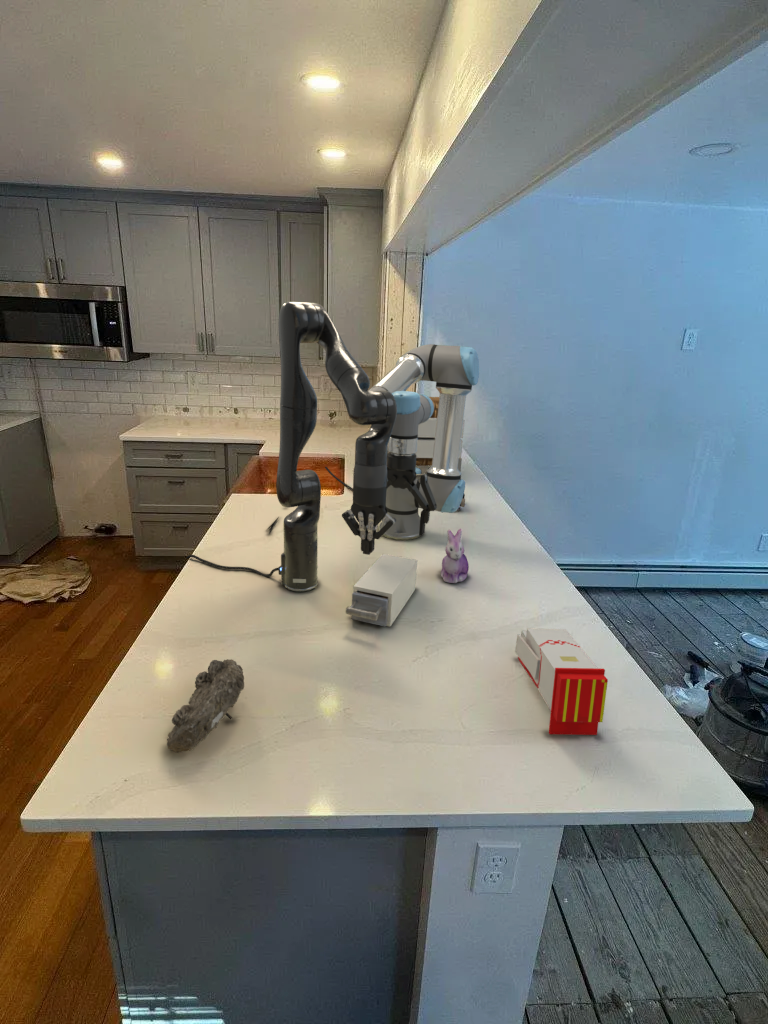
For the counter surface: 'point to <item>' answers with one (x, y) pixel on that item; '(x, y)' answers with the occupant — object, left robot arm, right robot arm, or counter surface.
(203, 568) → the counter surface
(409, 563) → the cabinet
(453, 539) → the figurine
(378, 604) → the drawer
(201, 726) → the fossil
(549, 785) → the counter surface
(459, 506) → the figurine character
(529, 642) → the toy
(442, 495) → the right robot arm
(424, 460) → the transformer
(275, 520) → the feather
